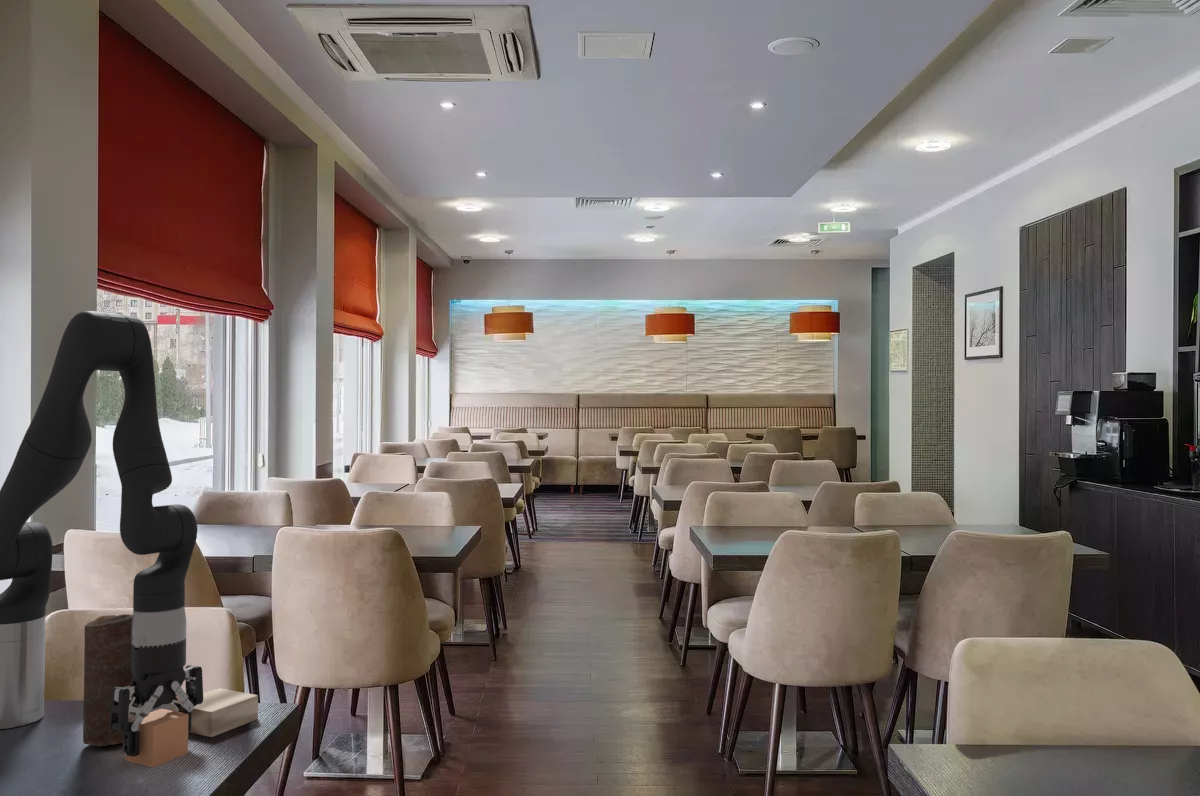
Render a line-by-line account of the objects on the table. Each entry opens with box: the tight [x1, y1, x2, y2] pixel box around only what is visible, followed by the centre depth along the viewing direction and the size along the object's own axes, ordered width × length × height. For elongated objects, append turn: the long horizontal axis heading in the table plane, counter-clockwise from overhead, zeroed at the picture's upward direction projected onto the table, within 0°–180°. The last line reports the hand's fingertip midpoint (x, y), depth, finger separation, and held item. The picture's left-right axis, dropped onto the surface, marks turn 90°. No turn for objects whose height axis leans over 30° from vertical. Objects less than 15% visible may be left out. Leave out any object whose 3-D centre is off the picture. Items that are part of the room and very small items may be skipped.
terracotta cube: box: [125, 708, 189, 768], centre depth 133 cm, size 6×6×6 cm
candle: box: [82, 613, 135, 747], centre depth 138 cm, size 8×7×20 cm
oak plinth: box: [170, 687, 259, 738], centre depth 147 cm, size 10×10×4 cm
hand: (158, 745), depth 133 cm, fingers open, 8 cm apart
